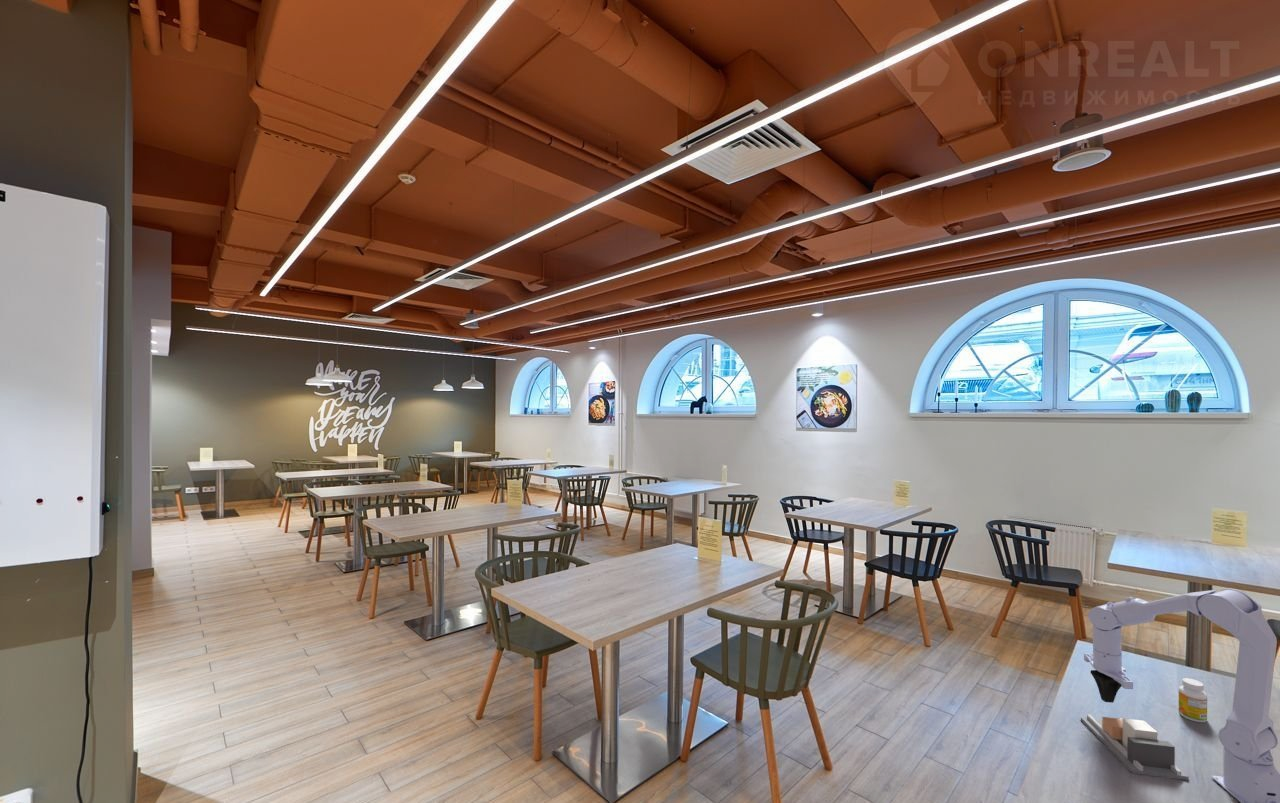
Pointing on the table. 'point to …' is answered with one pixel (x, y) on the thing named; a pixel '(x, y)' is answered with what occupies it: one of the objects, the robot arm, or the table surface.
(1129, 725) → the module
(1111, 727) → the peach block
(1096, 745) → the table surface
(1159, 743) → the rail holder
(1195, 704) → the supplement bottle
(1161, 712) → the table surface
